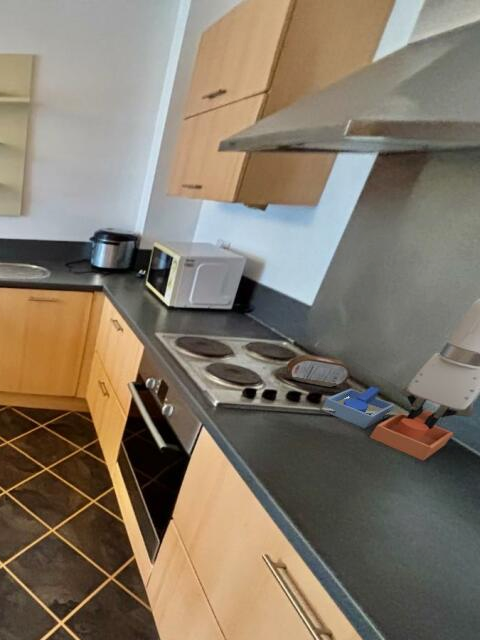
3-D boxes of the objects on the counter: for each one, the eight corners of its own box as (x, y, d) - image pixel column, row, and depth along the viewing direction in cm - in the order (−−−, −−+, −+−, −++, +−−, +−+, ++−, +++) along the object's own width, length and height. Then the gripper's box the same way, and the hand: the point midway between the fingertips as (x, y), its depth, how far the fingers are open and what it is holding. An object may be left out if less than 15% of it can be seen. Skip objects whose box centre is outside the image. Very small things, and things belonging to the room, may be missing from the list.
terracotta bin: (444, 444, 98) (453, 432, 96) (423, 460, 91) (432, 448, 90) (392, 424, 105) (400, 412, 104) (369, 437, 99) (377, 425, 97)
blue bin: (387, 416, 109) (395, 404, 107) (364, 428, 102) (372, 416, 101) (344, 399, 116) (350, 388, 114) (320, 409, 110) (326, 398, 108)
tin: (338, 386, 123) (352, 361, 119) (343, 391, 121) (357, 365, 117) (281, 376, 127) (292, 351, 123) (284, 381, 124) (296, 355, 121)
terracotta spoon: (437, 426, 98) (444, 416, 97) (418, 440, 93) (425, 430, 92) (412, 417, 102) (418, 407, 100) (392, 430, 97) (398, 420, 95)
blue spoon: (382, 400, 109) (386, 391, 107) (358, 419, 105) (362, 410, 104) (361, 392, 112) (365, 384, 111) (337, 410, 109) (341, 402, 107)
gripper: (525, 368, 85) (468, 441, 93) (424, 340, 97) (381, 407, 105) (516, 374, 81) (457, 449, 90) (412, 344, 93) (369, 413, 102)
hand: (416, 426), depth 98 cm, fingers closed on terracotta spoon
